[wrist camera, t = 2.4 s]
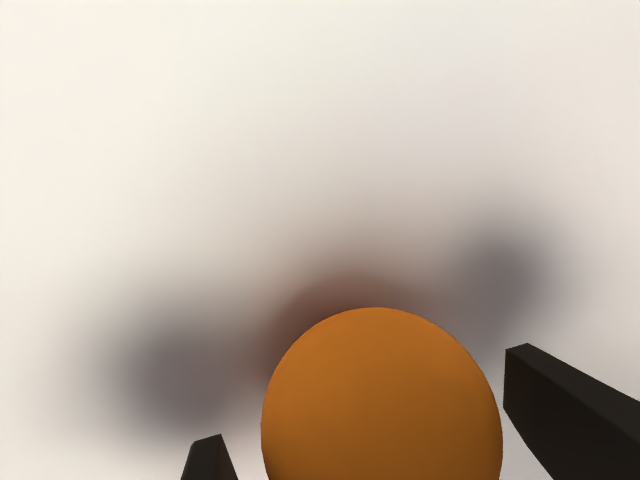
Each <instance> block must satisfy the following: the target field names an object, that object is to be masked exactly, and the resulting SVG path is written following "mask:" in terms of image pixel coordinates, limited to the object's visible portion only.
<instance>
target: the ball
mask: <svg viewBox="0 0 640 480" xmlns="http://www.w3.org/2000/svg"><path fill="white" fill-rule="evenodd" d="M261 449H262V454H263V459H264V464H265V468H266V473H267V475H268V478H269V480H499V477H500V471H501V466H502V458H503V436H502V427H501V420H500V415H499V411H498V407H497V404H496V401H495V398H494V395H493V392H492V390H491V388H490V386H489V384H488V382H487V380H486V378H485V376H484V374H483V372H482V370H481V369H480V368H479V366H478V365H477V363H476V362H475V360H474V359H473V358H472V356H471V355H470V353H469V352H468V351H467V350H466V349H465V348H464V347H463V346H462V345H461V344H460V343H459V342H458V341H457V340H456V339H455V338H454V337H453V336H451V335H450V334H449V333H447V332H446V331H445V330H443V329H442V328H440V327H439V326H437V325H436V324H434V323H432V322H430V321H428V320H426V319H424V318H422V317H420V316H417V315H415V314H412V313H409V312H405V311H402V310H397V309H391V308H385V307H369V308H358V309H353V310H348V311H344V312H341V313H338V314H335V315H333V316H331V317H328V318H326V319H324V320H323V321H321V322H319V323H317V324H316V325H314V326H313V327H311V328H310V329H309V330H307V331H306V332H305V333H304V334H303V335H302V336H301V337H300V338H299V339H297V340H296V341H295V342H294V343H293V344H292V346H291V347H290V348H289V349H288V350H287V351H286V353H285V354H284V356H283V357H282V359H281V361H280V362H279V364H278V366H277V367H276V369H275V371H274V373H273V375H272V377H271V380H270V383H269V386H268V389H267V392H266V395H265V398H264V403H263V410H262V417H261Z"/></svg>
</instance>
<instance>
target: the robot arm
mask: <svg viewBox="0 0 640 480" xmlns="http://www.w3.org/2000/svg"><path fill="white" fill-rule="evenodd" d="M503 408H504V410H505V412H506V413H507V415H508V417H509V418H510V420H511V422H512V423H513V425H514V427H515V428H516V430H517V431H518V433H519V434H520V436H521V438H522V439H523V441H524V442H525V444H526V445H527V447H528V448H529V449H530V451H531V452H532V453H533V454H534V456H535V457H536V458H537V460H538V461H539V462H540V463H541V465H542V466H543V467H544V468H545V470H546V471H547V472H548V474H549V475H550V476H551V477H552V479H553V480H640V402H639V401H637V400H635V399H633V398H631V397H629V396H627V395H625V394H623V393H621V392H619V391H617V390H616V389H614V388H612V387H610V386H608V385H606V384H604V383H602V382H600V381H598V380H596V379H594V378H593V377H591V376H589V375H587V374H585V373H583V372H581V371H579V370H578V369H576V368H574V367H572V366H570V365H568V364H566V363H565V362H563V361H561V360H559V359H557V358H555V357H554V356H552V355H550V354H548V353H546V352H544V351H542V350H540V349H539V348H537V347H535V346H533V345H531V344H529V343H525V344H522V345H519V346H515V347H512V348H509V349H506V352H505V374H504V396H503ZM181 480H238V478H237V475H236V472H235V470H234V467H233V464H232V462H231V459H230V457H229V454H228V451H227V449H226V446H225V443H224V441H223V438H222V435H221V434H218V435H215V436H211V437H208V438H205V439H201V440H198V441H194V443H193V444H192V445H191V448H190V451H189V454H188V458H187V461H186V464H185V467H184V471H183V474H182V477H181Z"/></svg>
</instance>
